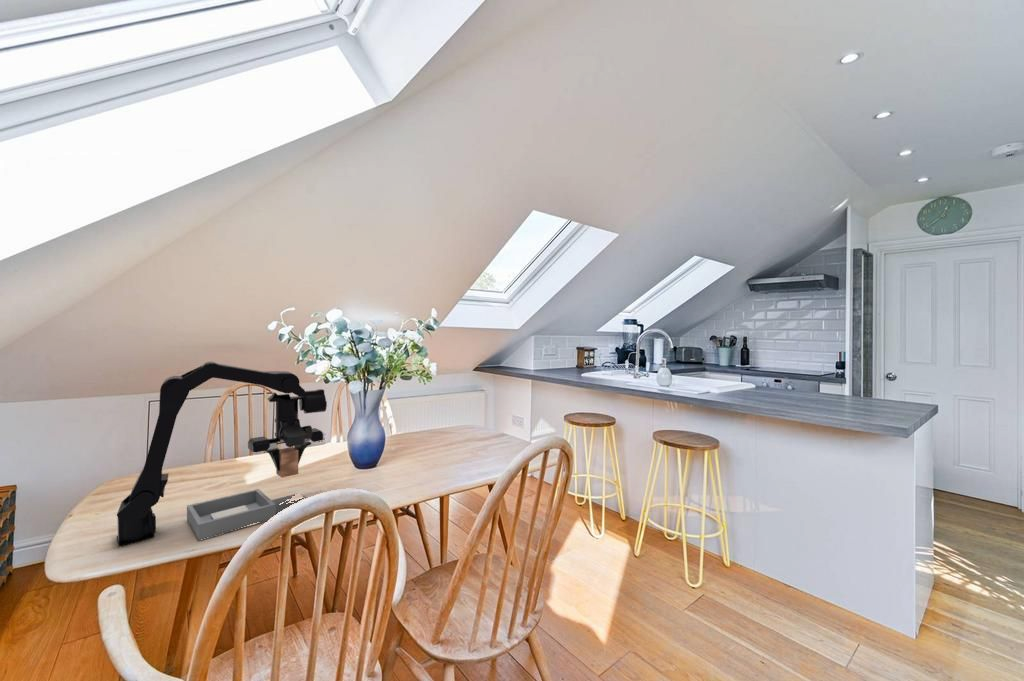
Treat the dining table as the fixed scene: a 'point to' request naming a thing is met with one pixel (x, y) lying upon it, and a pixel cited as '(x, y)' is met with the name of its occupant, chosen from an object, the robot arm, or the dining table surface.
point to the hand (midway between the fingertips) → (287, 468)
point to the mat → (284, 505)
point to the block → (288, 462)
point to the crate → (229, 513)
